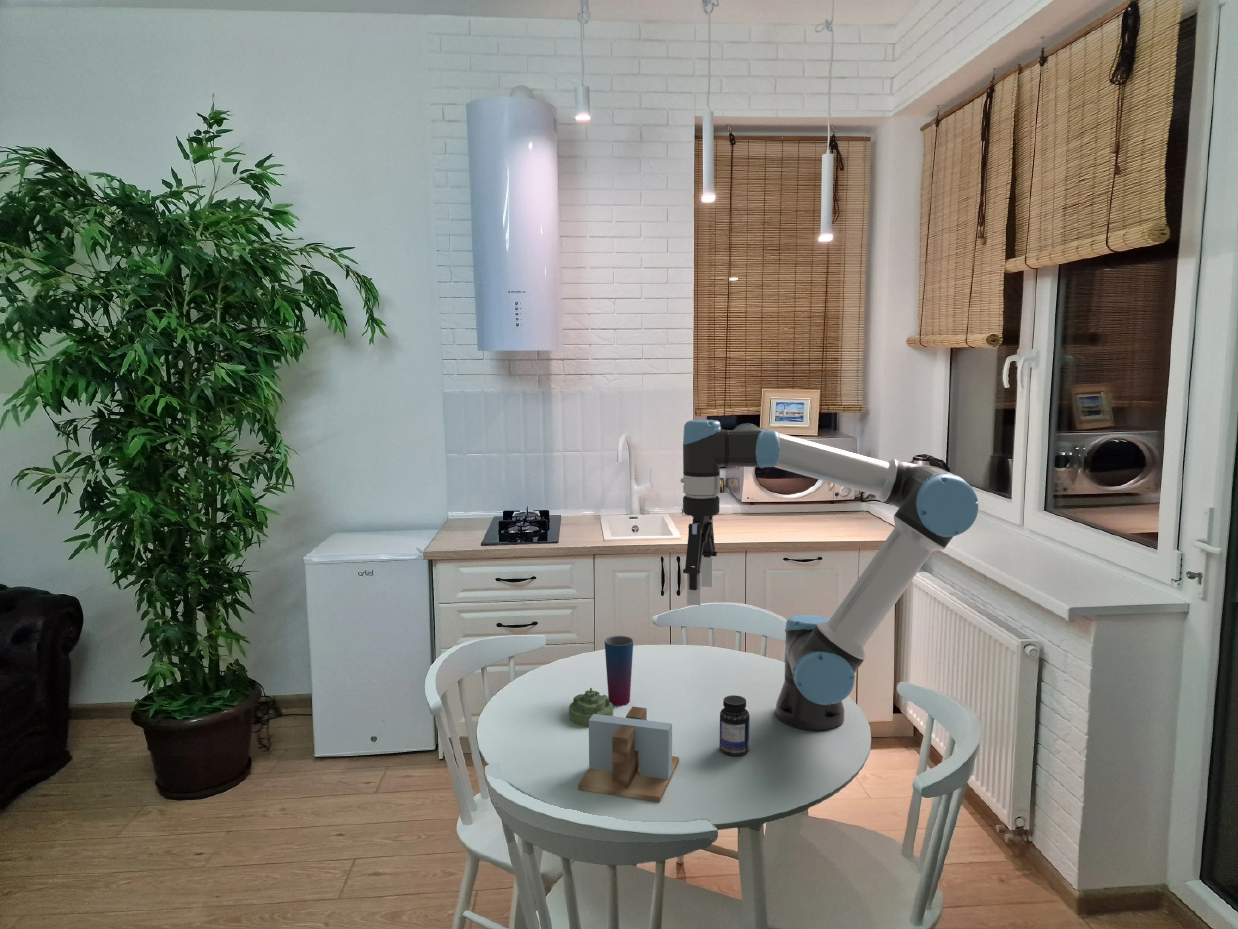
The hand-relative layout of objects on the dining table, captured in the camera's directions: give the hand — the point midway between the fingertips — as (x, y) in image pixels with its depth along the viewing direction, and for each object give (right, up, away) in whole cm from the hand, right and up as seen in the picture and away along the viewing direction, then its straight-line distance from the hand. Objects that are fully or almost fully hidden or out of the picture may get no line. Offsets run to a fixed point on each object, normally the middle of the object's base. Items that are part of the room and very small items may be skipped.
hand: (700, 595), depth 175 cm
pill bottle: (+7, -32, -1) cm, 33 cm away
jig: (-15, -34, -11) cm, 38 cm away
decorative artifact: (-23, -30, +15) cm, 41 cm away
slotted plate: (-15, -33, -11) cm, 37 cm away
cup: (-17, -29, +24) cm, 41 cm away
